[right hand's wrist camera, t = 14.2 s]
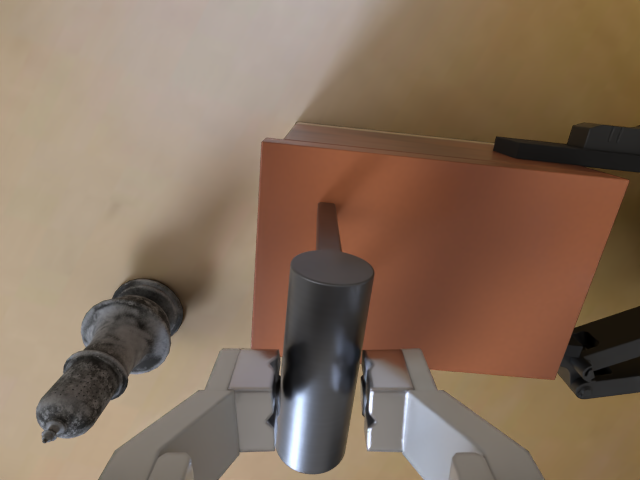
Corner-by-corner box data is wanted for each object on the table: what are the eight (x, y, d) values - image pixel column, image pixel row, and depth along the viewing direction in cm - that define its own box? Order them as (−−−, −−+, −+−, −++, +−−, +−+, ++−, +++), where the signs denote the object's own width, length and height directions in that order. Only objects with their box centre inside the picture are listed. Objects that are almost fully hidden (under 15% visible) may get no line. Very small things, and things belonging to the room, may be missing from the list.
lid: (254, 338, 20) (208, 518, 12) (265, 137, 16) (211, 186, 8) (540, 363, 20) (693, 550, 12) (608, 173, 17) (885, 253, 9)
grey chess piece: (118, 263, 29) (-12, 374, 17) (197, 292, 30) (120, 417, 18) (99, 327, 31) (-30, 465, 19) (174, 354, 31) (92, 501, 20)
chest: (285, 262, 29) (268, 338, 20) (296, 121, 25) (282, 138, 17) (474, 280, 29) (540, 362, 20) (510, 144, 26) (608, 173, 17)
